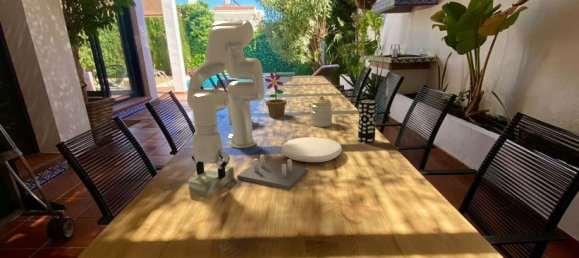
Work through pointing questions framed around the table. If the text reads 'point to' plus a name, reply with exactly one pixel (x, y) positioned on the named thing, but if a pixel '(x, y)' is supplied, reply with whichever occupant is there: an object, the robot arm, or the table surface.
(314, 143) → the plate
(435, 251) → the table surface
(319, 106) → the jar
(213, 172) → the pale green rectangular block
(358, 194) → the table surface
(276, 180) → the peg stand
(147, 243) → the table surface
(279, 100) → the flowerpot
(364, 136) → the spotted tube
